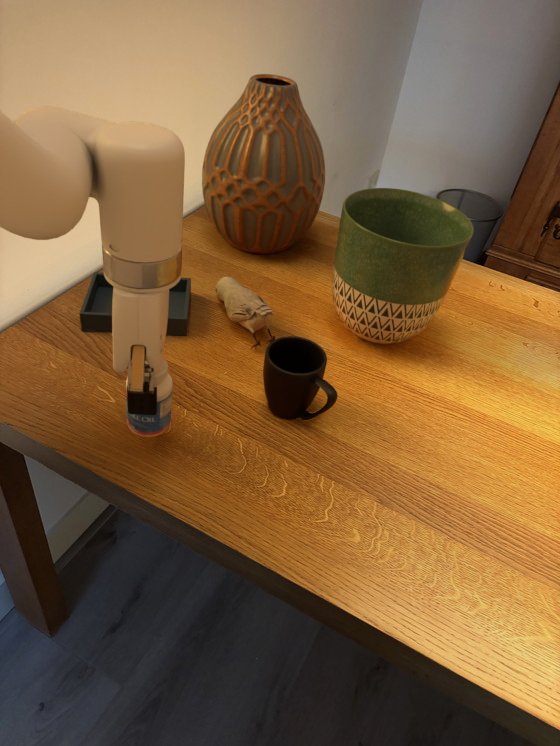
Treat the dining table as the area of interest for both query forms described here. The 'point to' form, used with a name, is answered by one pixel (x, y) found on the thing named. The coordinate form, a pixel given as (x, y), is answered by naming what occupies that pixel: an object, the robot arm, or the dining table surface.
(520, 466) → the dining table surface
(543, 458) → the dining table surface
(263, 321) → the decorative bird
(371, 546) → the dining table surface
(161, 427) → the pill bottle
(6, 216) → the robot arm
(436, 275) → the planter
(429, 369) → the dining table surface
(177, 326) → the tray
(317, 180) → the vase
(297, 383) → the mug
